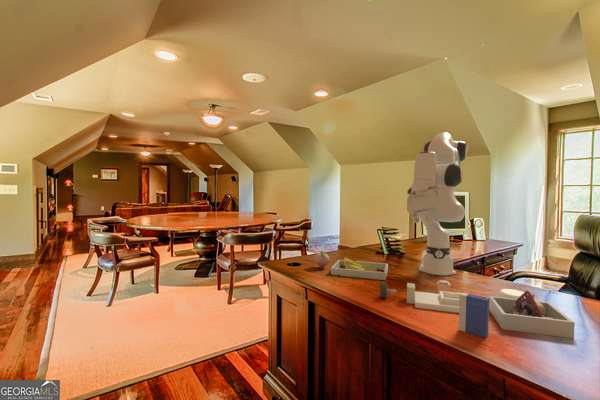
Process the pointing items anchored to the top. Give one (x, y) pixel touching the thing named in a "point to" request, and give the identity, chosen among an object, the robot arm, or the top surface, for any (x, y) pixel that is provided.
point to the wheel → (385, 290)
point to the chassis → (433, 299)
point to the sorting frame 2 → (531, 319)
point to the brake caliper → (528, 306)
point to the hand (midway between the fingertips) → (422, 221)
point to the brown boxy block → (443, 286)
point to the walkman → (474, 314)
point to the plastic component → (357, 265)
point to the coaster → (511, 293)
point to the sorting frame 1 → (359, 273)
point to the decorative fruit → (322, 259)
